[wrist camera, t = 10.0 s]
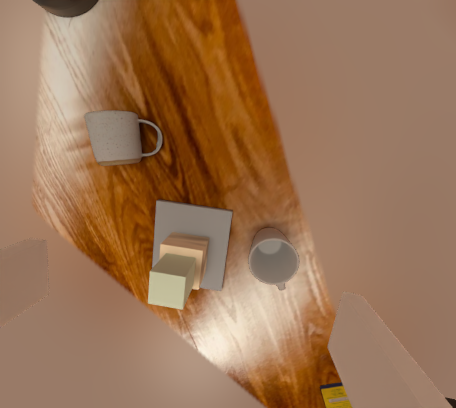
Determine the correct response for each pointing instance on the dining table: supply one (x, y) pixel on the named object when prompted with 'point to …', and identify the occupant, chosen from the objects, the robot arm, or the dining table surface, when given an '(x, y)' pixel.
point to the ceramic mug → (117, 137)
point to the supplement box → (335, 396)
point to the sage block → (171, 281)
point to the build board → (196, 234)
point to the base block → (188, 251)
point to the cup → (273, 258)
